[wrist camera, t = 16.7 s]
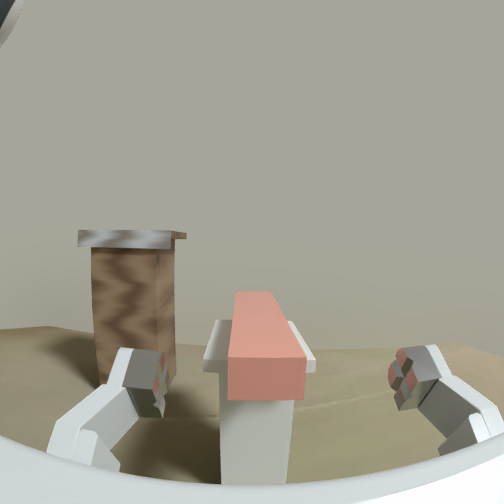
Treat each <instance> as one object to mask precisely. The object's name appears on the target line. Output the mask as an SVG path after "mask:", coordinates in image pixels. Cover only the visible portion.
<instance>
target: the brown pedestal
mask: <svg viewBox="0 0 504 504" xmlns="http://www.w3.org/2000/svg"><path fill="white" fill-rule="evenodd" d="M175 239H186V233H182V232H175V231H156V230H154V231H153V230H78V247H91V284H92V308H93V324H94V337H95V348H96V357H97V366H98V374H99V381H100V386H101V385H102V384H107V381H108V378H109V375H110V372H111V369H112V366H113V363H114V360H115V358H116V355H117V352H118V350H119V349H120V348H121V347H124V348H133V349H142V350H150V351H160V352H164V355H165V358H166V359H165V365H166V366H167V367H168V371H169V385H170V383H171V381H172V379H173V377H174V375H175V373H176V353H175V322H174V321H175V317H174V252H175Z"/></svg>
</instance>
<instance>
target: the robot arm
mask: <svg viewBox="0 0 504 504" xmlns="http://www.w3.org/2000/svg"><path fill="white" fill-rule="evenodd" d="M23 2H24V0H0V47H1V46H2V45H3V43H4V42H5V41H6V39H7V38H8V36H9V35H10V33H11V31H12V29H13V28H14V26H15V24H16V22H17V20H18V18H19V15H20V12H21V9H22V6H23ZM396 358H397V359H396V360H395V361H394V362H392V363H391V365H390V368H389V371H388V380H389V384H390V387H391V388H392V389H394V390H395V391H396V392H395V395H394V399H395V401H396V404H397V407H398V410H399V411H401V410H408V409H414V408H418V410H419V411H420V412H421V413H422V414H423V415H424V416H425V417H426V418H427V419H428V420H429V421H430V422H431V423H432V424H433V425H434V426H435V427H436V428H437V429H438V430H439V431H440V432H441V433H442V434H443V435H444V436H445V437H446V438H447V439H446V440H445V441H444V442H443V443H442V444H441V445H440V446H439V448H438V451H439V454H440V456H439V457H436V458H432V459H429V460H425V461H422V462H418V463H415V464H411V465H407V466H403V467H399V468H394V469H390V470H385V471H381V472H376V473H371V474H365V475H359V476H353V477H347V478H340V479H333V480H325V481H315V482H305V483H292V484H272V485H225V484H205V483H192V482H181V481H172V480H164V479H157V478H150V477H143V476H137V475H132V474H126V473H121V472H119V470H120V462H119V461H118V460H117V458H116V457H115V456H114V455H113V454H112V452H111V451H110V450H111V449H112V447H113V446H114V445H115V444H116V443H117V442H118V441H119V440H120V439H121V438H122V437H123V435H124V434H125V433H126V432H127V431H128V430H129V429H130V428H131V427H132V425H133V424H134V423H135V422H136V421H137V420H138V419H139V416H140V417H150V418H161V419H163V415H164V410H165V404H166V402H165V399H164V395H165V394H166V393H167V392H168V387H169V371H168V367H167V366H166V365H165V359H166V358H165V355H164V352H160V351H150V350H142V349H133V348H124V347H121V348H120V349H119V350H118V352H117V355H116V358H115V360H114V363H113V366H112V369H111V372H110V375H109V378H108V381H107V384H102V385H101V386H99V387H98V388H97V389H96V390H94V391H93V392H92V393H91V394H90V395H88V396H87V397H86V398H85V399H83V400H82V401H81V402H80V403H78V404H77V405H76V406H75V407H73V408H72V409H71V410H70V411H68V412H67V413H66V414H65V415H63V416H62V417H61V418H60V419H59V420H57V421H56V424H55V427H54V430H53V433H52V436H51V439H50V442H49V445H48V448H47V451H46V452H43V451H40V450H37V449H34V448H32V447H29V446H26V445H24V444H21V443H18V442H16V441H13V440H11V439H8V438H6V437H4V436H1V435H0V504H504V422H503V419H502V417H501V415H500V413H499V411H498V409H497V406H496V405H495V404H493V403H492V402H491V401H489V400H488V399H487V398H485V397H484V396H483V395H481V394H480V393H479V392H477V391H476V390H474V389H473V388H472V387H470V386H469V385H468V384H466V383H465V382H464V381H462V380H461V379H459V378H458V377H457V376H452V374H451V372H450V370H449V368H448V366H447V364H446V362H445V360H444V358H443V356H442V354H441V352H440V350H439V348H438V347H437V346H436V345H435V344H433V345H425V346H416V347H408V348H401V349H399V350H398V351H397V353H396Z"/></svg>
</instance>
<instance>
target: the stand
mask: <svg viewBox="0 0 504 504" xmlns="http://www.w3.org/2000/svg"><path fill="white" fill-rule="evenodd" d="M232 321H233V320H216V322H215V325H214V328H213V331H212V334H211V337H210V340H209V343H208V346H207V349H206V352H205V355H204V358H203V372H215V373H219V406H220V456H221V484H225V485H272V484H286V476H287V467H288V458H289V449H290V440H291V430H292V419H293V408H294V400H274V401H249V400H228V351H229V344H230V336H231V329H232ZM287 322H288V324H289V326H290V327H291V329H292V331H293V333H294V335H295V336H296V338H297V340H298V342H299V344H300V345H301V347H302V349H303V351H304V353H305V354H306V356H307V364H306V373H315V367H316V359H315V358H314V356H313V354H312V353H311V351H310V349H309V348H308V346H307V345H306V343H305V341H304V340H303V338H302V337H301V335H300V333H299V332H298V330H297V329H296V327H295V325H294V324H293V322H292V321H287Z"/></svg>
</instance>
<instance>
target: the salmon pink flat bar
mask: <svg viewBox="0 0 504 504" xmlns="http://www.w3.org/2000/svg"><path fill="white" fill-rule="evenodd" d="M306 364H307V356H306V354H305V353H304V351H303V349H302V347H301V345H300V344H299V342H298V340H297V338H296V336H295V335H294V333H293V331H292V329H291V327H290V326H289V324H288V322H287V320H286V318H285V317H284V315H283V313H282V312H281V309H280V308H279V306H278V304H277V302H276V300H275V299H274V297H273V295H272V293H271V292H243V291H242V292H241V291H237V292H236V299H235V306H234V314H233V321H232V329H231V336H230V344H229V351H228V400H249V401H274V400H303V398H304V388H305V376H306Z"/></svg>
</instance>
